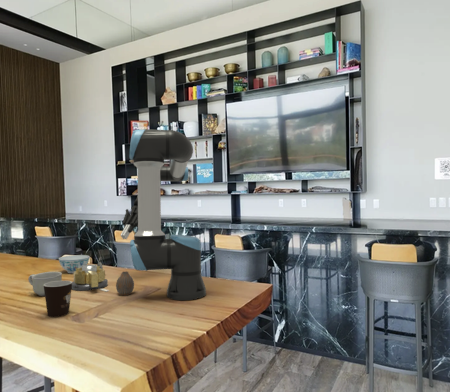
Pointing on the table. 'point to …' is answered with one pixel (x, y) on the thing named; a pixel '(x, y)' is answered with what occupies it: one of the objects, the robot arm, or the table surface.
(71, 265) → the chinaware
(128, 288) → the vase
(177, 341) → the table surface
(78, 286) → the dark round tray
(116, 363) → the table surface
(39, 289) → the teacup
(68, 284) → the coffee mug
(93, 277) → the tan piece
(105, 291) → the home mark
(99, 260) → the pocket watch
